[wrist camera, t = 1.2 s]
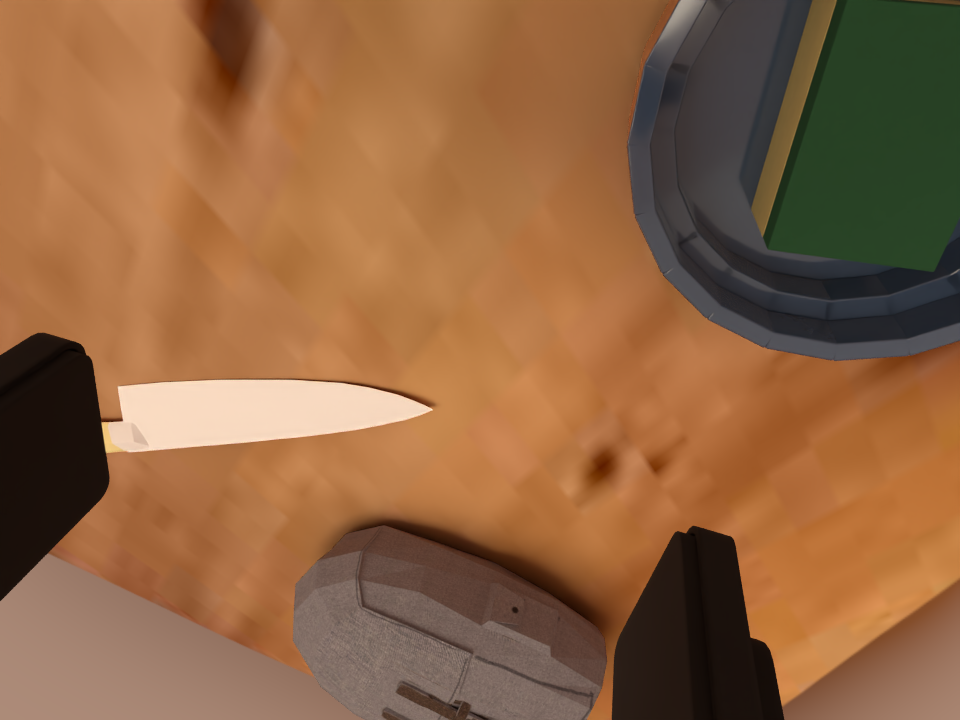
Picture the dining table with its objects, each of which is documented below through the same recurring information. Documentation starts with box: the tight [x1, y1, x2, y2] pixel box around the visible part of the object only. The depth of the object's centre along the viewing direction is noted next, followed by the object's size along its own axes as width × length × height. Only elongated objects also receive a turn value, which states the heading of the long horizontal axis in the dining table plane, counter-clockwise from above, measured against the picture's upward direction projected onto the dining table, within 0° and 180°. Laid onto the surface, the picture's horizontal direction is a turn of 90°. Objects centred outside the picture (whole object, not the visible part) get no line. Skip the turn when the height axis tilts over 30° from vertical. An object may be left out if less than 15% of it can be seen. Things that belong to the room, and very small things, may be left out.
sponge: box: [751, 0, 960, 272], centre depth 23 cm, size 8×6×4 cm
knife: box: [101, 380, 433, 453], centre depth 41 cm, size 1×33×5 cm
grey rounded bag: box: [293, 525, 607, 720], centre depth 42 cm, size 15×8×20 cm
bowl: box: [627, 0, 960, 361], centre depth 24 cm, size 17×17×4 cm
